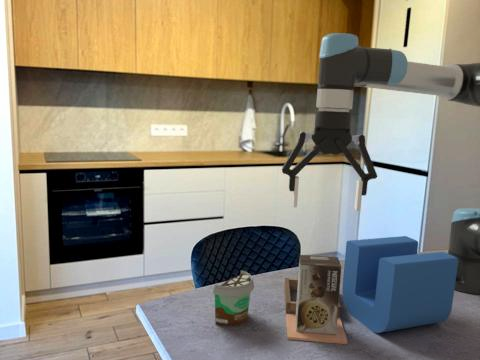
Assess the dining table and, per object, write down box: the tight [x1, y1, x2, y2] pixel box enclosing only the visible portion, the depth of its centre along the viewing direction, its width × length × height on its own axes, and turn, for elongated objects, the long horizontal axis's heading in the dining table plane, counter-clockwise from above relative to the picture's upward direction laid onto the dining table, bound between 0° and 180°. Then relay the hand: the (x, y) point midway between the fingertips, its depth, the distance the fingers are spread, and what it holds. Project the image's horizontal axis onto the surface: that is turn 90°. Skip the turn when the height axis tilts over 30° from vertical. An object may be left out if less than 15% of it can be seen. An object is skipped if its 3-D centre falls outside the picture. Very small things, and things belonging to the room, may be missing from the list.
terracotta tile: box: [285, 313, 349, 345], centre depth 105 cm, size 13×11×1 cm
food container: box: [212, 269, 255, 327], centre depth 107 cm, size 12×6×10 cm, turn 148°
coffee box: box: [295, 254, 342, 334], centre depth 104 cm, size 9×6×16 cm
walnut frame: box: [283, 277, 341, 319], centre depth 119 cm, size 13×16×3 cm
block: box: [342, 235, 458, 334], centre depth 111 cm, size 18×18×18 cm
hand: (325, 208), depth 101 cm, fingers open, 13 cm apart
